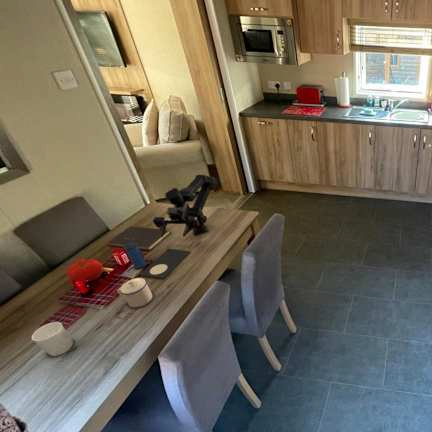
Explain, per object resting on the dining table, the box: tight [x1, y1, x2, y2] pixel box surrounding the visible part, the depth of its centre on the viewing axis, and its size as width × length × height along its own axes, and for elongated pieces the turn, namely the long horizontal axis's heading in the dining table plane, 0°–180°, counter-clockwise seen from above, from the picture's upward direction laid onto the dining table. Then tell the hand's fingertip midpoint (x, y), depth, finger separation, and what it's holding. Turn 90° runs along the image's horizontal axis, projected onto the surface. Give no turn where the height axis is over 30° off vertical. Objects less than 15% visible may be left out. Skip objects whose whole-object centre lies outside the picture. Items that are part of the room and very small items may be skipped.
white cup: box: [31, 321, 74, 357], centre depth 113 cm, size 8×8×10 cm
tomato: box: [66, 258, 104, 282], centre depth 143 cm, size 11×12×9 cm
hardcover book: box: [107, 225, 171, 251], centre depth 170 cm, size 16×23×2 cm
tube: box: [123, 242, 148, 270], centre depth 150 cm, size 5×5×13 cm
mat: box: [139, 248, 191, 280], centre depth 156 cm, size 20×12×1 cm, turn 174°
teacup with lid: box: [117, 277, 153, 308], centre depth 133 cm, size 12×9×12 cm
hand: (172, 236), depth 150 cm, fingers open, 9 cm apart
